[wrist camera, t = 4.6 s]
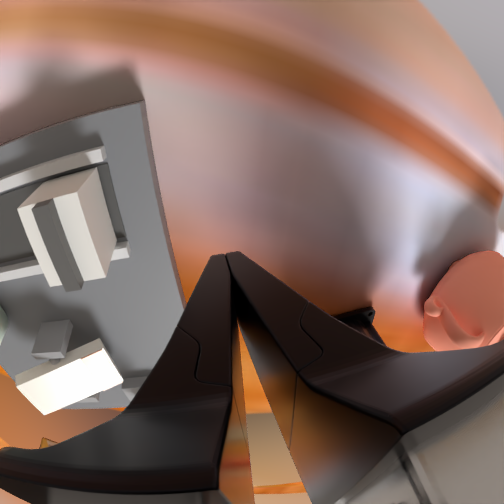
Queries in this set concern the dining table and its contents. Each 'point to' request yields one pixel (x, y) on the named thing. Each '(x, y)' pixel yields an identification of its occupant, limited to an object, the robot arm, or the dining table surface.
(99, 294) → the switch panel
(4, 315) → the push button
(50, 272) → the slide paddle
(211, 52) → the dining table surface
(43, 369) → the rocker switch
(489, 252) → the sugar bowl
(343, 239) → the dining table surface
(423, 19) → the dining table surface
